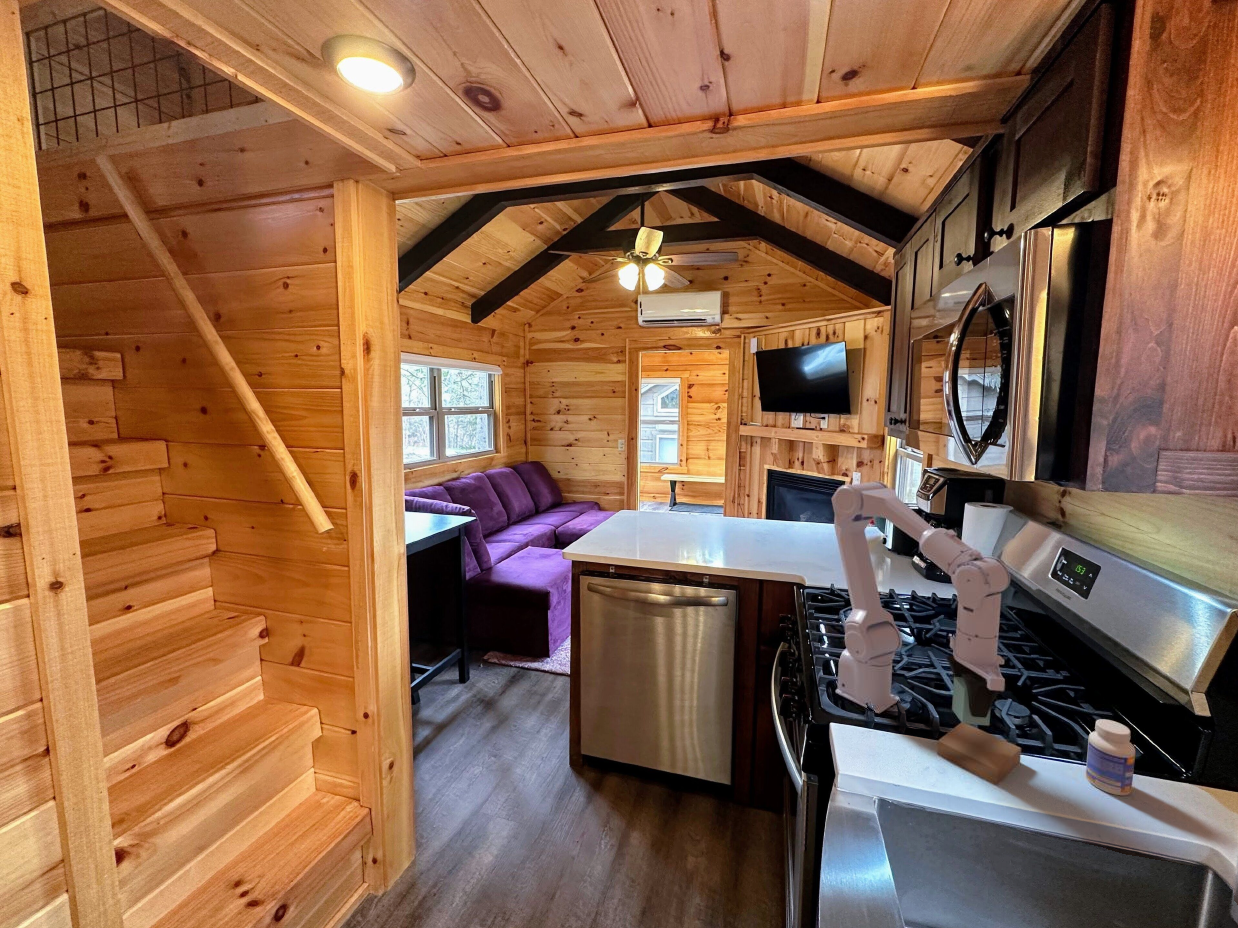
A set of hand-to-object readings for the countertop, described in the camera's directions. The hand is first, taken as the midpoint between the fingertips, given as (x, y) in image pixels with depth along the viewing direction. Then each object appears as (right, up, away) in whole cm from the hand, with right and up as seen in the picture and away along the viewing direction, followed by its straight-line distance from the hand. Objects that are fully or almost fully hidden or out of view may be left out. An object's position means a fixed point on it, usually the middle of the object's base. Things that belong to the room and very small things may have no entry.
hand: (971, 707), depth 90 cm
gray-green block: (0, -2, 0) cm, 2 cm away
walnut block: (+2, -9, +1) cm, 10 cm away
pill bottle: (+18, -10, -6) cm, 21 cm away
